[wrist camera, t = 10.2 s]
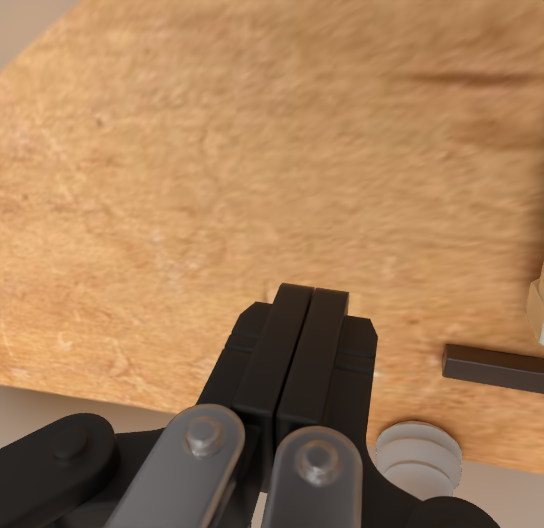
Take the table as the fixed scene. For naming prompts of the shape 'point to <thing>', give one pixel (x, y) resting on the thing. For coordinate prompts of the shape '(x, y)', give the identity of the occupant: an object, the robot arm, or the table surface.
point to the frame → (494, 368)
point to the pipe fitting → (536, 308)
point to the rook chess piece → (419, 459)
